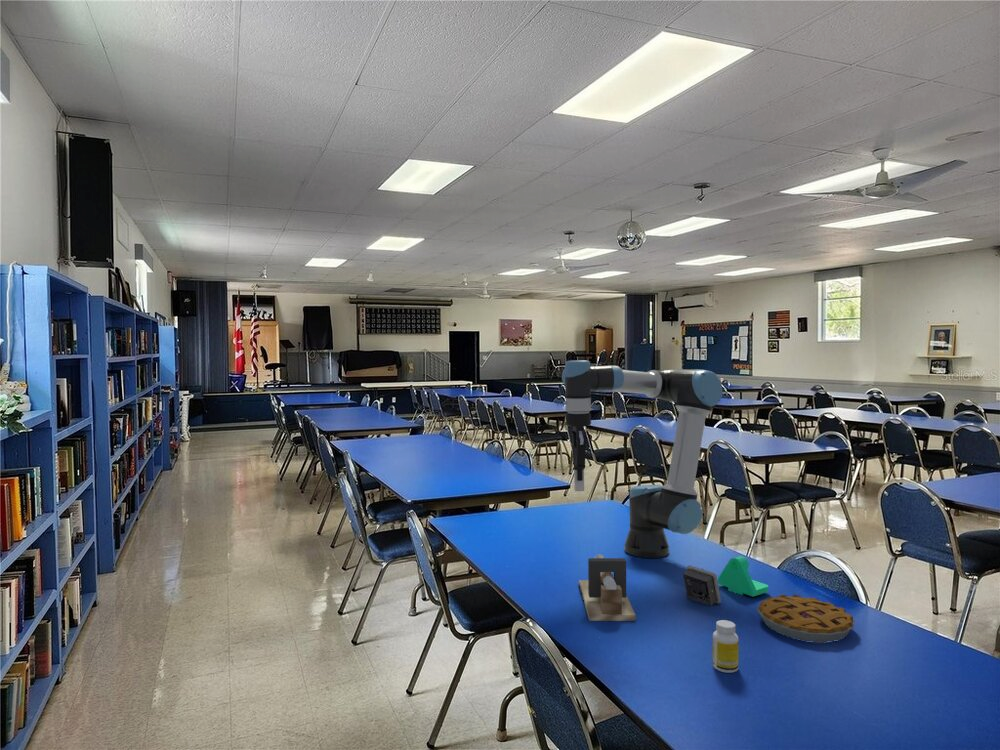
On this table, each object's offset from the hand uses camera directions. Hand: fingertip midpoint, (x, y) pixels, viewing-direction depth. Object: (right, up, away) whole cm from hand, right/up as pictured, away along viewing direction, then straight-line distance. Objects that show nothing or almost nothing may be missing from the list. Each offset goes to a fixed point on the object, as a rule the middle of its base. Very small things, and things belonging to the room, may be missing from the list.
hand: (579, 490), depth 187 cm
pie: (+53, -30, -29) cm, 67 cm away
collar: (+6, -26, -16) cm, 31 cm away
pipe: (+6, -22, -13) cm, 26 cm away
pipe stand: (+6, -29, -12) cm, 32 cm away
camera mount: (+47, -29, -5) cm, 56 cm away
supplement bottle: (+26, -30, -49) cm, 63 cm away
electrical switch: (+33, -29, -12) cm, 45 cm away
